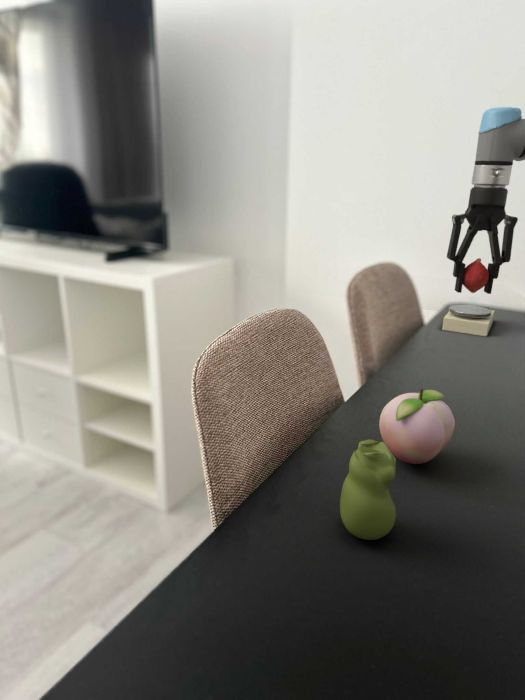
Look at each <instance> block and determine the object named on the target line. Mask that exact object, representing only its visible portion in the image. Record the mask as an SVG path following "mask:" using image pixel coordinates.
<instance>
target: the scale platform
mask: <svg viewBox="0 0 525 700" xmlns="http://www.w3.org/2000/svg"><path fill="white" fill-rule="evenodd" d="M459 304H460V305H459ZM459 304H452V305H450V306H449V307H448V312H449V311H450V312H451V313H453V314H456V315H460V316H465V317H474V318H483V317H489V316H490V315H491V310H492V309H490V308H489V309H487V308H484V307H485V306H480V305H474V304H464V305H463V303H459Z"/></svg>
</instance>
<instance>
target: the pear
mask: <svg viewBox="0 0 525 700" xmlns="http://www.w3.org/2000/svg"><path fill="white" fill-rule="evenodd" d="M396 461H397V460H396V456H394V455H393V454H392V453H391V451H390V450H389V449H388V448H387V446H386V444H385V443H384V441H377V440H374V439H372V438H371V439H370V438H369V439H365V440H361V441H359V442H358V446H357V449H354V451H353V453H352V455H351V456H350V459H349V463H348V473H347V475H346V477H345V479H344V480H343V484H342V487H341V493H340V501H339V512H340V513H339V514H340V517H341V521H342V523H343V526H344V527H345V529H346V530H347V531H348V532H349V533H350V534H351V535H353V536H354V537H356V538H358V539H361V540H365V541H374V540H380V539H381V538H383V537H385V536H387V534H389V533H390V532H391V530H393V527H394V525H395V523H396V518H397V511H396V506H395V502H394V501H393V499H392V497H391V493H390V491H389V489H388V486H389V485H390V484H391V483H392V482H393V481H394V479H395V477H396V473H397V471H396V465H397V464H396V463H397V462H396Z"/></svg>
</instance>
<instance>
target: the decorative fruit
mask: <svg viewBox="0 0 525 700" xmlns="http://www.w3.org/2000/svg"><path fill="white" fill-rule="evenodd" d="M443 399H446V397H445V395H444V394H443V393H441V392H439V391H438V390H434V389H425V390H424V388H420V389H419V392H406V393H403V394H400V395H397V396H395V397H394V398H393V399H391V400H390V401H388V403H387V404H386V405H385V406H384V407H383V408H382V410H381V413H380V416H379V422H378V423H379V424H378V427H379V432H380V436H381V439H382V442H384V443H385V445H386V446H387V448H388V449H389V450H390V452H391V453H392V455H393V456H394V457H395V458H397V459H398V460H400V461H402V462H404V463H408V464H411V465H420V464H424V463H428V462H429V461H432V460H433V459H434V458H435V457H436V456H437V455H438V454H439V453H440V452H441V451H443V450H444V449H445V448H446V446H447V445H448V444H449V442H450V440H451V438H452V436H453V434H454V431H455V427H456V421H455V417H454V414H453V412H452V410H451V408H450V407H449V406H448V405H447V403H445V402H444V401H443Z"/></svg>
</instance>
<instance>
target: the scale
mask: <svg viewBox="0 0 525 700" xmlns="http://www.w3.org/2000/svg"><path fill="white" fill-rule="evenodd" d="M460 304H461V303H459V304H458V305H460ZM462 304H463V303H462ZM463 305H465V304H463ZM483 307H484V308H487V309H489V310H491V315H490V316H489V317H483V318H474V317H465V316H460V315H456V314H453V313H451V312H450V311H449V310H448V312H447V313H446V314H445V316H443V320H442V327H441V330H443V331H448V332H455V333H463V334H469V335H475V336H481V337H488V334H489V332H490V329H491V327H492V325H493V323H494V317H495V313H496V311H495V310H494V309H490V307H489V306H488V307H487V306H483Z"/></svg>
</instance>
